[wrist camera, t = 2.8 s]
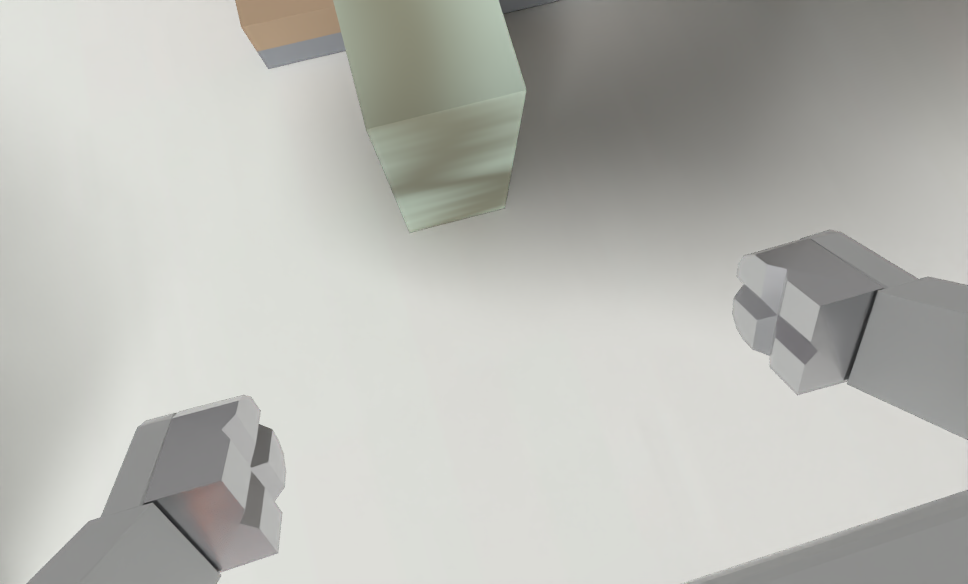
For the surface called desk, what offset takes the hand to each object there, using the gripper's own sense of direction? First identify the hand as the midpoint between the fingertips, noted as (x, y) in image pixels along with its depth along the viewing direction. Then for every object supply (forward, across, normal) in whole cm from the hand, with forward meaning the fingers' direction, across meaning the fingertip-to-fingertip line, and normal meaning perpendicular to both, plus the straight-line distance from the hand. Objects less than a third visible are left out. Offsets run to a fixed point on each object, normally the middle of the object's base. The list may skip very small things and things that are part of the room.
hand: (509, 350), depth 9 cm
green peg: (+14, -1, +3) cm, 15 cm away
